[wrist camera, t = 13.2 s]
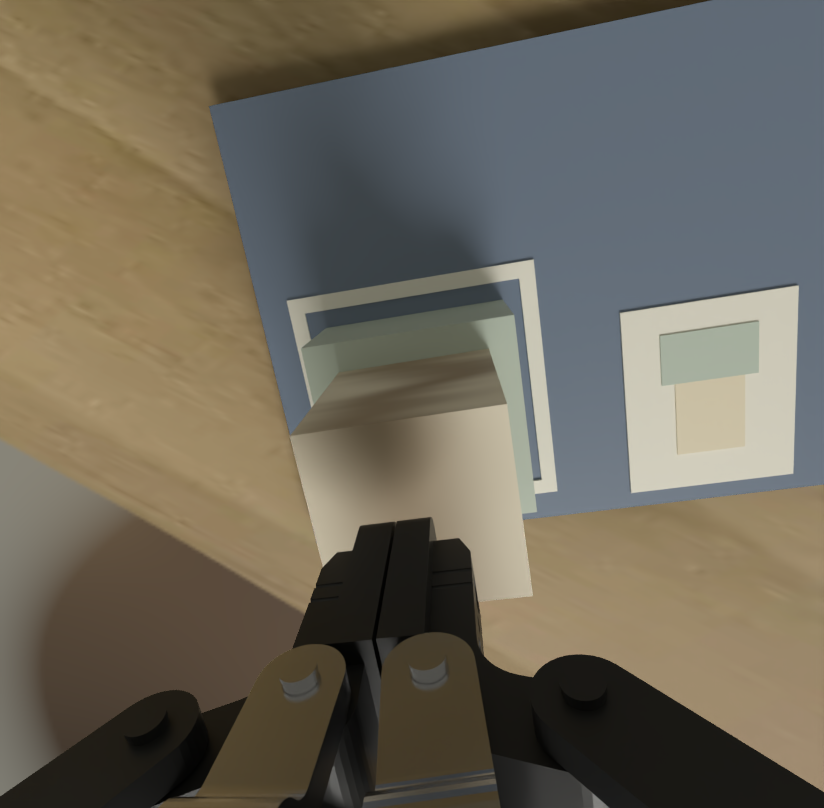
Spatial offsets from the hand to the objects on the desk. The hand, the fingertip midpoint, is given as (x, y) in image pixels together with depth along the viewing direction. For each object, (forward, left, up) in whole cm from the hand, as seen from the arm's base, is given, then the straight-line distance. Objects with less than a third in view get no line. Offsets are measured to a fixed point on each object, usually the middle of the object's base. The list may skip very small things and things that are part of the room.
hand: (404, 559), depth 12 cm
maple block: (0, 0, -8) cm, 8 cm away
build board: (-5, -3, -13) cm, 14 cm away
